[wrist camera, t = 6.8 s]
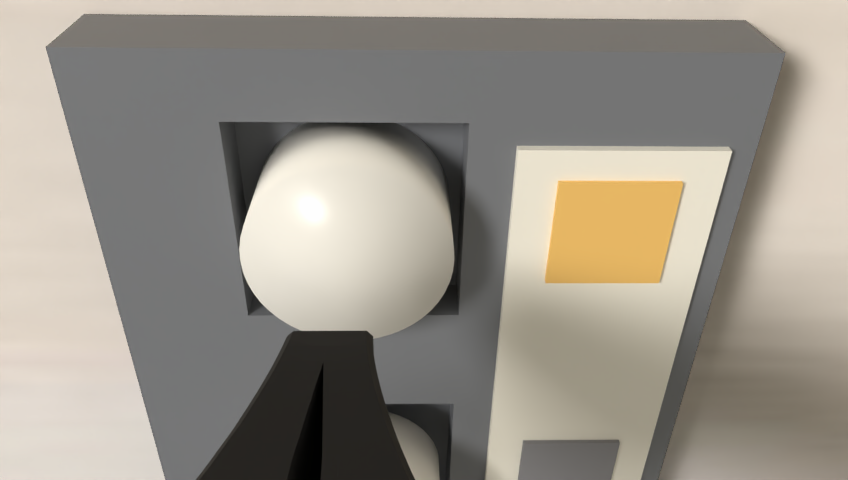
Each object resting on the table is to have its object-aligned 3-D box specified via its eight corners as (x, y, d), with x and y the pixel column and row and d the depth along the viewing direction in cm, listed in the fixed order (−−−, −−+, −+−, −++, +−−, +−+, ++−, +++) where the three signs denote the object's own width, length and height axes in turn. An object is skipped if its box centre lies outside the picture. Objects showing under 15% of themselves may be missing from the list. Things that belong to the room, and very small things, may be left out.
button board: (587, 623, 29) (601, 685, 27) (232, 628, 29) (219, 691, 27) (745, 20, 16) (792, 59, 14) (83, 14, 15) (38, 53, 14)
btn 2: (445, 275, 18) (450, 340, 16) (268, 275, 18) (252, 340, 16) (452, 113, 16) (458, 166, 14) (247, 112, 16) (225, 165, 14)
